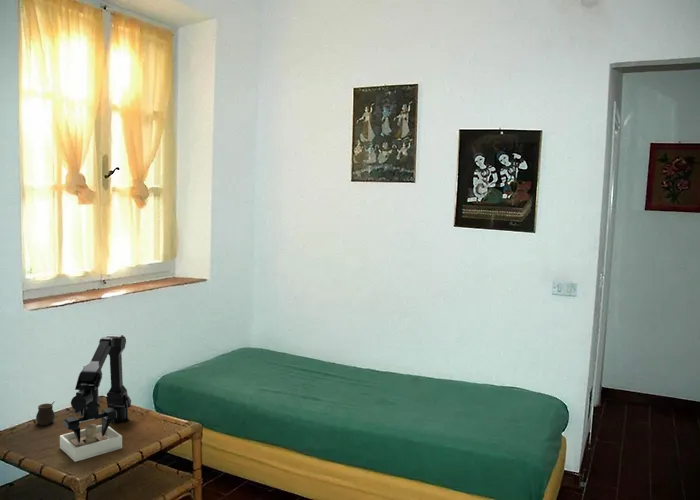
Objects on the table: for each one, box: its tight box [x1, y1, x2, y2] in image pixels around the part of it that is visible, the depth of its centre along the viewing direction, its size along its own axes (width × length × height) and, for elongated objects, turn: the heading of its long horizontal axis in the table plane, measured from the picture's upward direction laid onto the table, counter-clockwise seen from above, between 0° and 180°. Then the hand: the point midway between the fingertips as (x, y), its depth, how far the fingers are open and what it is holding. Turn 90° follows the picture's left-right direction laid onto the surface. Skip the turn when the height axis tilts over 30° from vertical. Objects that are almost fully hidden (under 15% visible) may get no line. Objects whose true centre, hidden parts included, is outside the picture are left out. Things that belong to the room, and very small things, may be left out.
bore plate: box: [70, 432, 109, 448], centre depth 229 cm, size 12×12×2 cm
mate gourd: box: [35, 401, 56, 426], centre depth 251 cm, size 7×8×10 cm
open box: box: [59, 424, 123, 462], centre depth 229 cm, size 18×16×5 cm
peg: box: [84, 423, 97, 444], centre depth 229 cm, size 4×4×8 cm
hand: (91, 439), depth 229 cm, fingers open, 9 cm apart
